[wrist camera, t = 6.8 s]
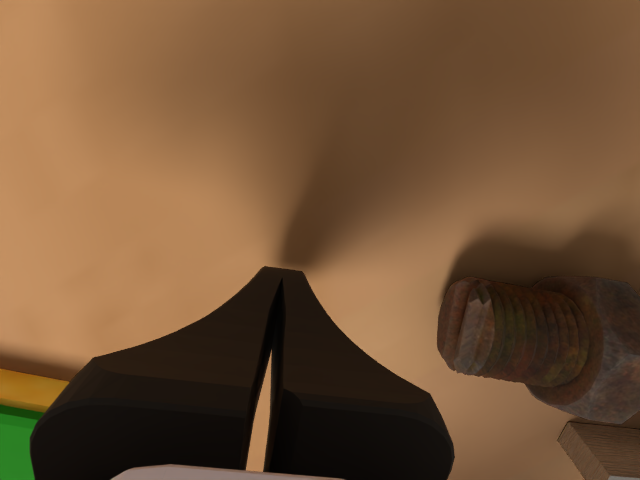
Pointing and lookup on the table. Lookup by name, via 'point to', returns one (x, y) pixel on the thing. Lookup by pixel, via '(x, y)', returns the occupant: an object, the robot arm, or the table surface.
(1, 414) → the dish sponge
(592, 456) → the grey u-shaped bracket
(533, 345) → the bolt
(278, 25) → the table surface
